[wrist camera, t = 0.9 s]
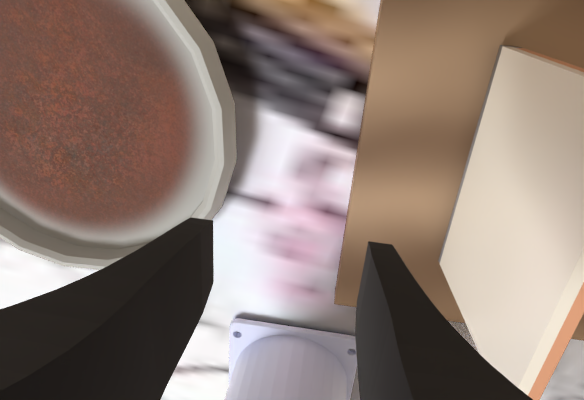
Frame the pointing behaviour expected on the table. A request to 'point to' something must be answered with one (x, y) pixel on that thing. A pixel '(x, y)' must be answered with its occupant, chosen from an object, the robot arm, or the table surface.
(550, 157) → the tile
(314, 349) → the robot arm
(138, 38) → the frying pan
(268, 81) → the table surface
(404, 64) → the board
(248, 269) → the table surface
